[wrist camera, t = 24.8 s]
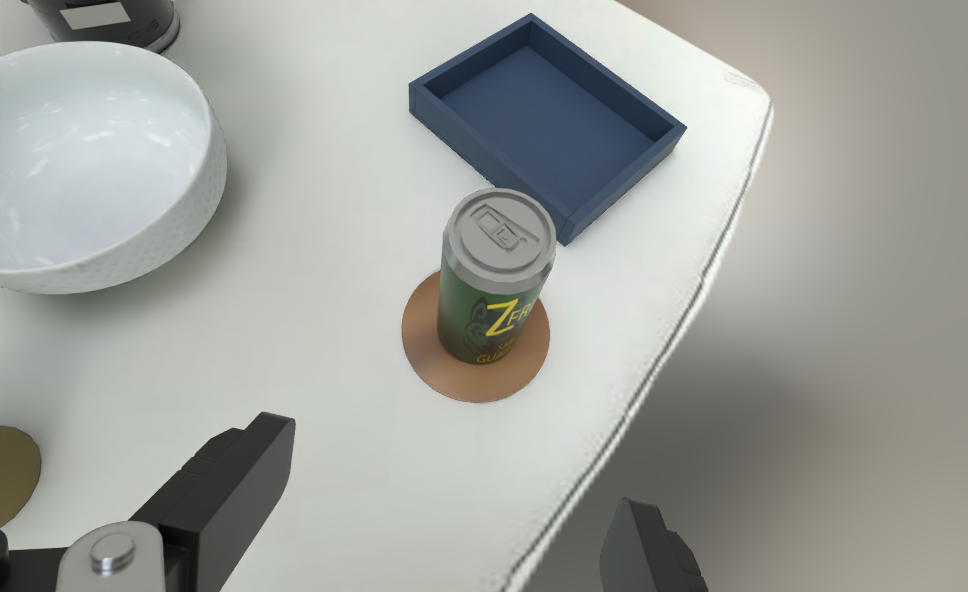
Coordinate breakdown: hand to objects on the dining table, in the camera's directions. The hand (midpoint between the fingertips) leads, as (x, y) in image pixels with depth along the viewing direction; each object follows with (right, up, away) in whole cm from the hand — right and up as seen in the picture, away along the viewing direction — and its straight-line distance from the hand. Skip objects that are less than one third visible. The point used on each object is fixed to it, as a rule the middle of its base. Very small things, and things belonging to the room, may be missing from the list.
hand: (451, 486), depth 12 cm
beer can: (0, +2, +21) cm, 21 cm away
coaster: (0, +2, +21) cm, 22 cm away
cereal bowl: (-24, +10, +22) cm, 35 cm away
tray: (+6, +19, +30) cm, 36 cm away
